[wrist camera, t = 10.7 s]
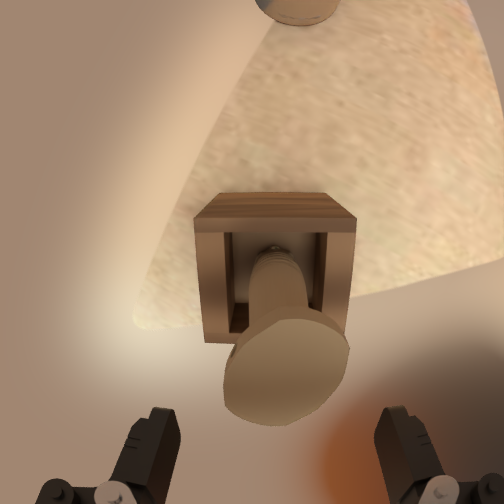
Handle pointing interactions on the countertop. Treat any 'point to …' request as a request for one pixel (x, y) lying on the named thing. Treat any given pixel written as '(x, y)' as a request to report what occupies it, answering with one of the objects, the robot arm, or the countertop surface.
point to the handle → (282, 348)
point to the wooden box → (261, 239)
